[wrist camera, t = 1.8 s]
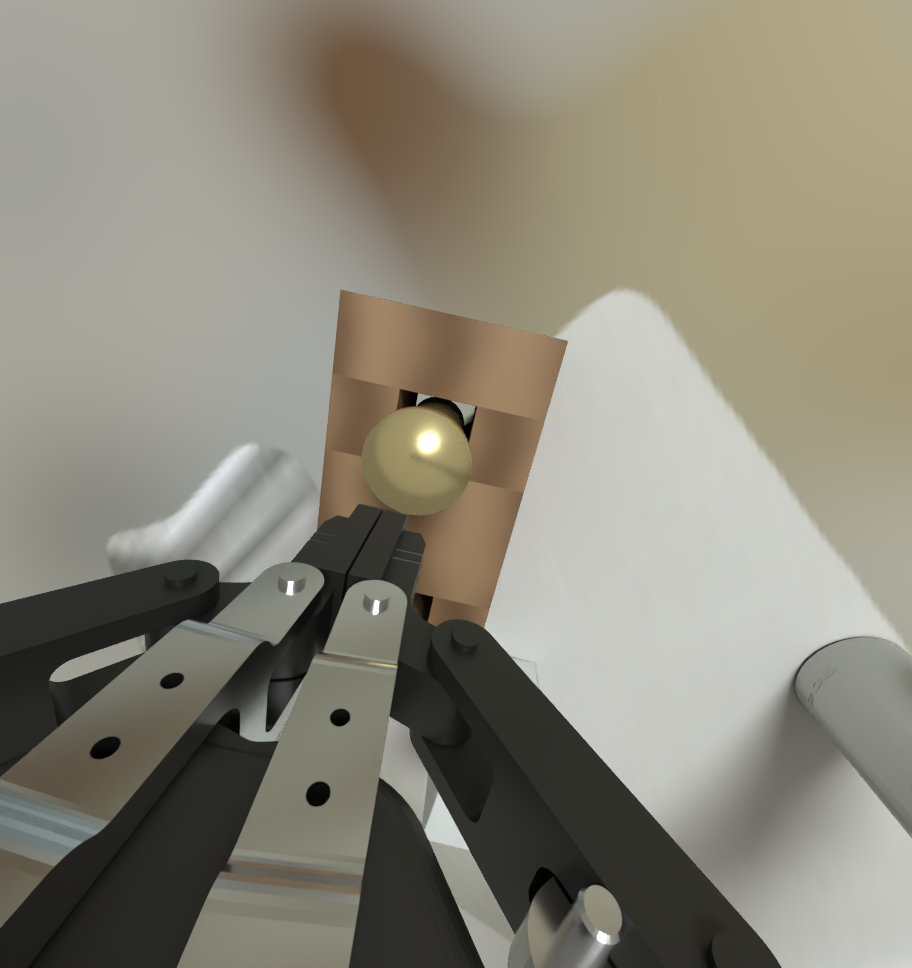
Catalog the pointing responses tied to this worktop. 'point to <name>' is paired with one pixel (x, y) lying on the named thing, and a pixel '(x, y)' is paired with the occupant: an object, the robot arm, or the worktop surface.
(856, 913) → the worktop surface
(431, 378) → the socket block
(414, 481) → the plunger
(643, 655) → the worktop surface
